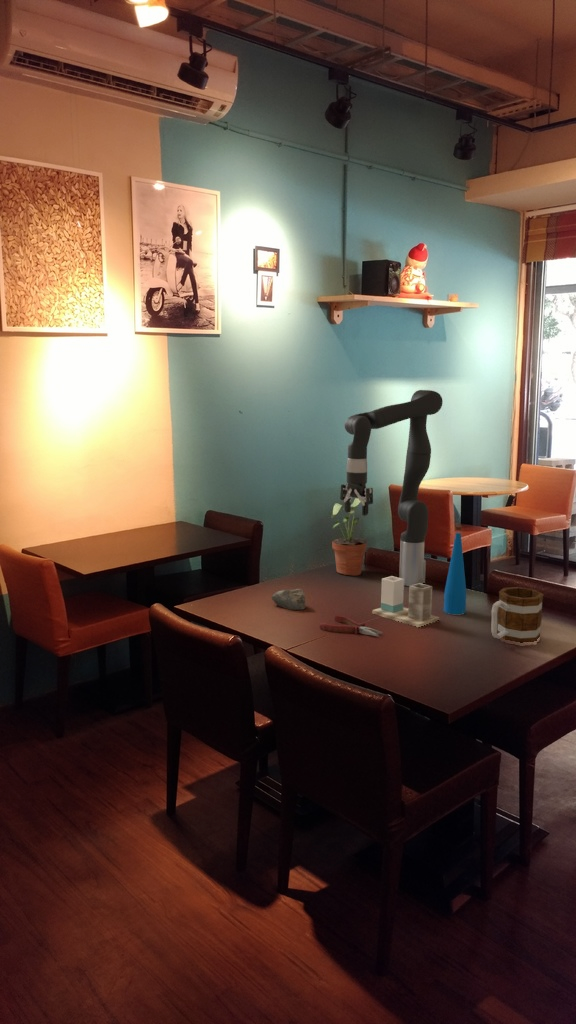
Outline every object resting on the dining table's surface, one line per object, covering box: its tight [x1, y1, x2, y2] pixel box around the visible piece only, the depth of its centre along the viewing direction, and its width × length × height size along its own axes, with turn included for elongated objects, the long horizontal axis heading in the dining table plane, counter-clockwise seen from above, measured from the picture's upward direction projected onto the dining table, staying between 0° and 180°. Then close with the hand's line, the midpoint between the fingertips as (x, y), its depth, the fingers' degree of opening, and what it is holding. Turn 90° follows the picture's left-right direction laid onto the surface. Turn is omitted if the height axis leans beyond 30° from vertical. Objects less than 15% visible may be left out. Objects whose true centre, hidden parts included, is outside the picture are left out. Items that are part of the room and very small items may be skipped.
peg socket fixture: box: [371, 583, 440, 628], centre depth 265 cm, size 20×11×12 cm, turn 43°
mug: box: [490, 586, 545, 643], centre depth 243 cm, size 20×14×15 cm
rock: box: [271, 588, 307, 611], centre depth 278 cm, size 13×9×6 cm, turn 56°
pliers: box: [319, 615, 384, 637], centre depth 252 cm, size 12×20×3 cm, turn 54°
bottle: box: [443, 525, 467, 614], centre depth 270 cm, size 7×7×30 cm
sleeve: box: [380, 575, 405, 613], centre depth 269 cm, size 5×5×11 cm
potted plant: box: [329, 497, 368, 577], centre depth 320 cm, size 16×15×35 cm
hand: (356, 513), depth 291 cm, fingers open, 8 cm apart
